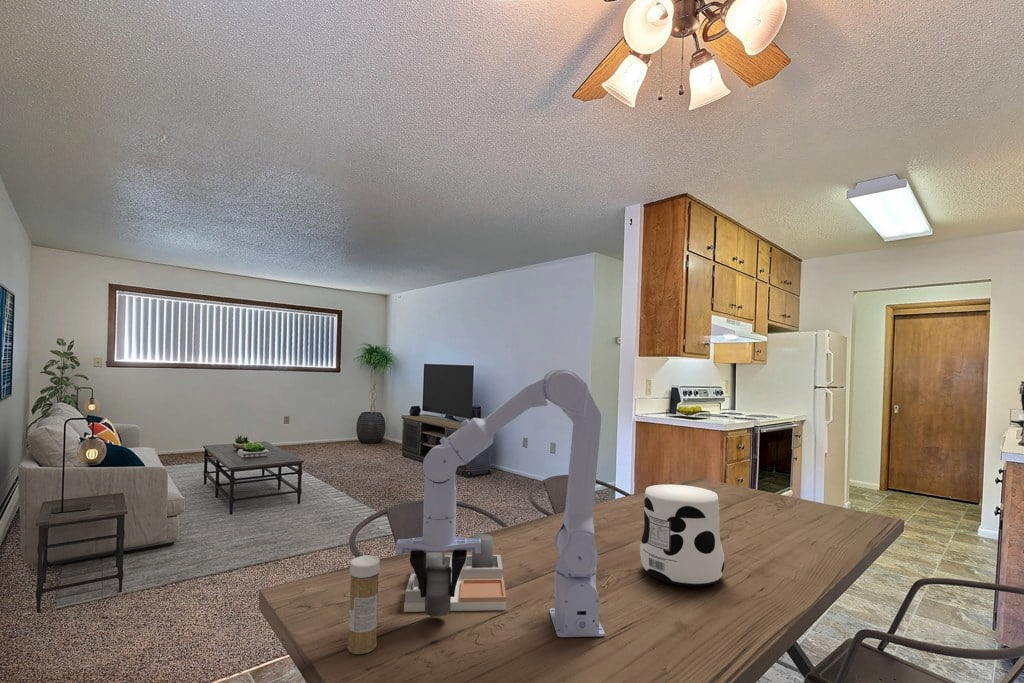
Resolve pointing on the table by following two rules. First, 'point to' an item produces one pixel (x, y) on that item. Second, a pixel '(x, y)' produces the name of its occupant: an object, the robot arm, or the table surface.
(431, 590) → the dark gray cylinder
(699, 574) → the milk container
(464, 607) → the white cylinder holder tray
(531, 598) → the table surface
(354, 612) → the sprinkles bottle
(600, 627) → the robot arm
